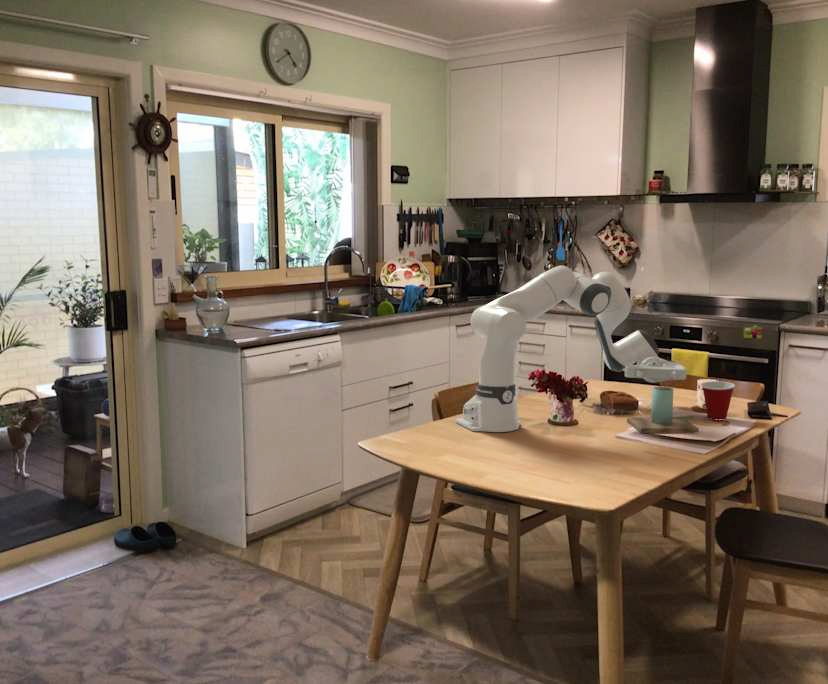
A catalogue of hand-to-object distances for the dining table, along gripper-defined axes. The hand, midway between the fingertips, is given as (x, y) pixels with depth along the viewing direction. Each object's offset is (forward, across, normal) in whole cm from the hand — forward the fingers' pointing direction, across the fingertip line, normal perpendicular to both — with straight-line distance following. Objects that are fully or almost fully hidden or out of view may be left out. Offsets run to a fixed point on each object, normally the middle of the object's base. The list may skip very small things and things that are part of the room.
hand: (657, 375), depth 268 cm
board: (+12, +1, +15) cm, 19 cm away
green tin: (+12, +1, +13) cm, 18 cm away
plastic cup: (-4, +20, +15) cm, 25 cm away
